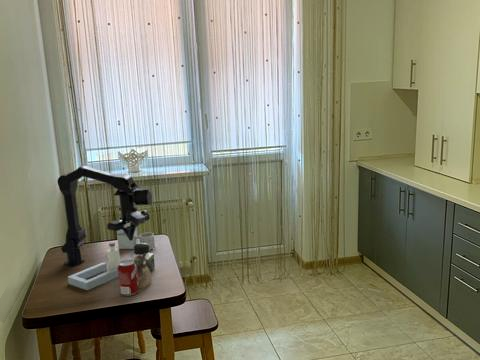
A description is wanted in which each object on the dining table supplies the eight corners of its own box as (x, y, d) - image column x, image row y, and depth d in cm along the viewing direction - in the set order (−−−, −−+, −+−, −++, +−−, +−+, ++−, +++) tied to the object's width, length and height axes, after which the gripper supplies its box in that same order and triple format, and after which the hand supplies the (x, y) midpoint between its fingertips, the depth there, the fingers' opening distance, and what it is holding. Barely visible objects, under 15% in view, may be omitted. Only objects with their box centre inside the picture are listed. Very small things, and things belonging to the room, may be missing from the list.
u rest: (68, 283, 189) (67, 276, 189) (104, 268, 203) (103, 262, 202) (87, 290, 182) (86, 283, 182) (122, 274, 195) (121, 267, 195)
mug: (157, 246, 227) (155, 232, 226) (152, 251, 221) (150, 237, 219) (137, 245, 229) (135, 232, 228) (131, 250, 223) (130, 237, 221)
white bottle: (106, 271, 199) (103, 244, 197) (116, 267, 203) (112, 241, 201) (114, 274, 196) (110, 246, 194) (123, 270, 200) (120, 242, 198)
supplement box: (118, 249, 226) (115, 223, 223) (124, 243, 233) (121, 218, 230) (132, 249, 224) (130, 223, 222) (138, 244, 231) (136, 218, 229)
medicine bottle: (148, 276, 192) (145, 247, 190) (132, 275, 194) (129, 247, 191) (155, 269, 199) (152, 241, 197) (139, 268, 201) (136, 241, 198)
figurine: (131, 282, 187) (128, 253, 185) (149, 278, 190) (146, 249, 188) (135, 289, 181) (131, 259, 178) (153, 285, 184) (150, 255, 181)
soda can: (129, 298, 174) (126, 267, 171) (116, 294, 177) (112, 264, 175) (142, 290, 179) (139, 260, 177) (129, 287, 183) (126, 257, 180)
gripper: (122, 213, 190) (126, 250, 193) (156, 201, 205) (160, 236, 208) (104, 209, 197) (108, 245, 200) (139, 199, 211) (142, 233, 215)
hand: (131, 240), depth 205 cm, fingers closed
